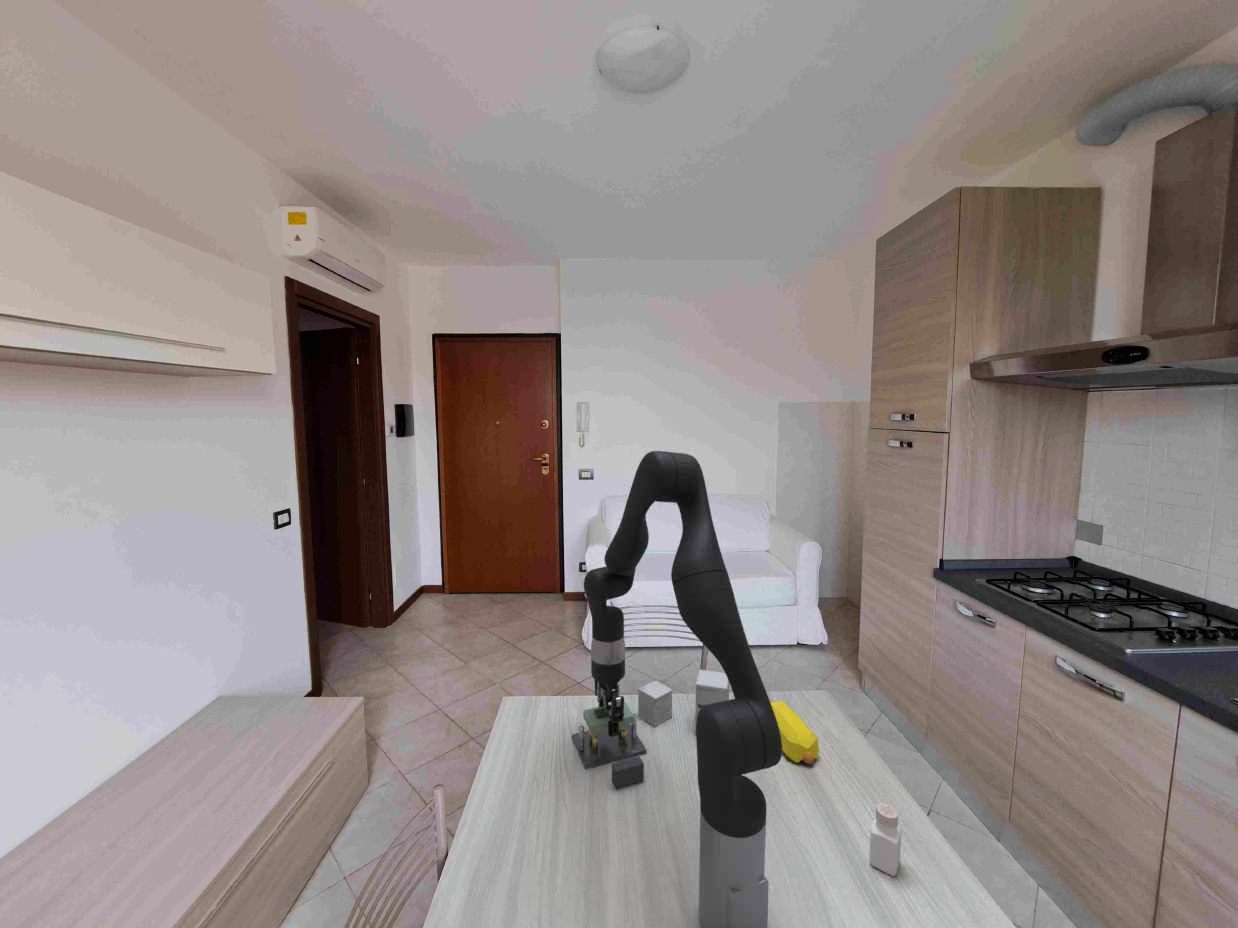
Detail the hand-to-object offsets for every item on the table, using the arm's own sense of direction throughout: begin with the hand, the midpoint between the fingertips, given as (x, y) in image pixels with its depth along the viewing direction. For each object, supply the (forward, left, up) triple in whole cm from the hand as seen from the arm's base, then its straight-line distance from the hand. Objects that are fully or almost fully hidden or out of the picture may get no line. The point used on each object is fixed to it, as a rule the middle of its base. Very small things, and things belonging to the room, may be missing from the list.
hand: (608, 725), depth 111 cm
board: (0, 0, +2) cm, 2 cm away
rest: (-12, 0, -4) cm, 13 cm away
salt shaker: (-44, -33, -5) cm, 55 cm away
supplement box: (-3, -25, -5) cm, 26 cm away
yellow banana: (-13, -39, -5) cm, 41 cm away
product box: (+6, -14, -5) cm, 16 cm away
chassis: (0, 0, -4) cm, 4 cm away
